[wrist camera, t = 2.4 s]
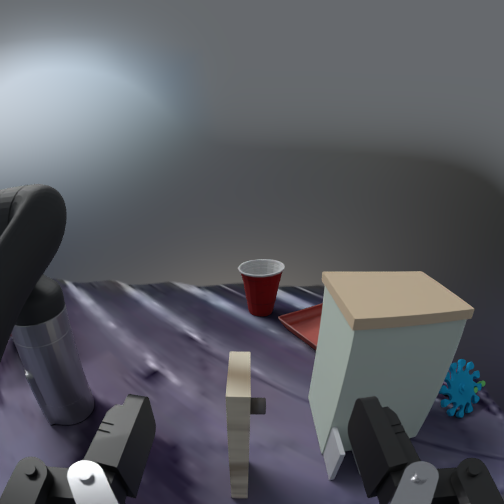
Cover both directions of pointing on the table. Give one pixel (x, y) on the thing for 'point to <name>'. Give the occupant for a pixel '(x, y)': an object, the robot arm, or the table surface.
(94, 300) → the table surface
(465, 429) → the table surface
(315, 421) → the cabinet
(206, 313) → the table surface
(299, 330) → the plant saucer
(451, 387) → the gear
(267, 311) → the plastic cup
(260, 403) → the tall wooden plank
